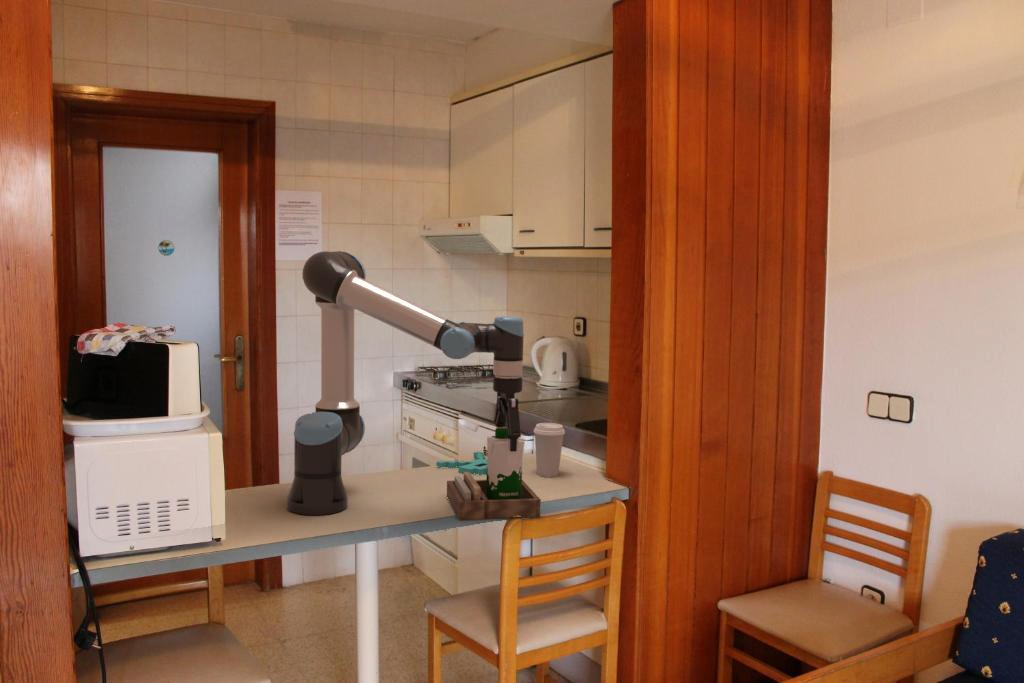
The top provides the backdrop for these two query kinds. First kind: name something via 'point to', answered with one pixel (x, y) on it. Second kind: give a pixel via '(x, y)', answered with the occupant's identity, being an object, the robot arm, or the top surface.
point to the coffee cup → (548, 448)
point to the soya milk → (502, 468)
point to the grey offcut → (462, 488)
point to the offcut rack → (494, 504)
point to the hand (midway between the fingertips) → (506, 457)
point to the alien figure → (468, 464)
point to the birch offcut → (472, 486)
